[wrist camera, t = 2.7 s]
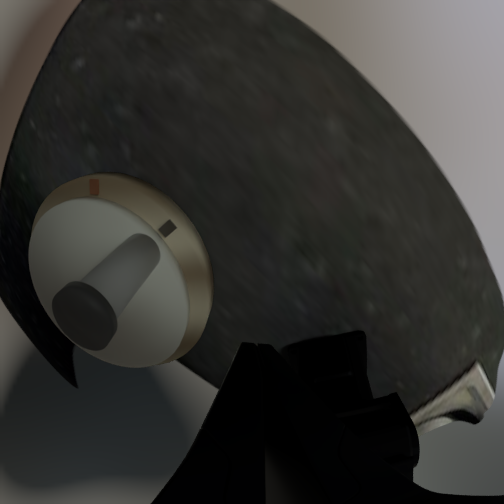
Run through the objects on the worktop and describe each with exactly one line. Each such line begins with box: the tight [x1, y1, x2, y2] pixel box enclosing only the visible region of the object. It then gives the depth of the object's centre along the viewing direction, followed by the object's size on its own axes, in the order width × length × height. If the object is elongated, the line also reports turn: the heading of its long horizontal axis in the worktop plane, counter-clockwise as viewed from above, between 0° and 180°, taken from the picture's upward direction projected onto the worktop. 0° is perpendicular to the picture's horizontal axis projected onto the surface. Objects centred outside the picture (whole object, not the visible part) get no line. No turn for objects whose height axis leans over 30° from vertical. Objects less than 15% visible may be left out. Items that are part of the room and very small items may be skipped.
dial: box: [29, 196, 190, 368], centre depth 15 cm, size 14×14×8 cm
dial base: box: [31, 172, 214, 365], centre depth 20 cm, size 16×16×2 cm
